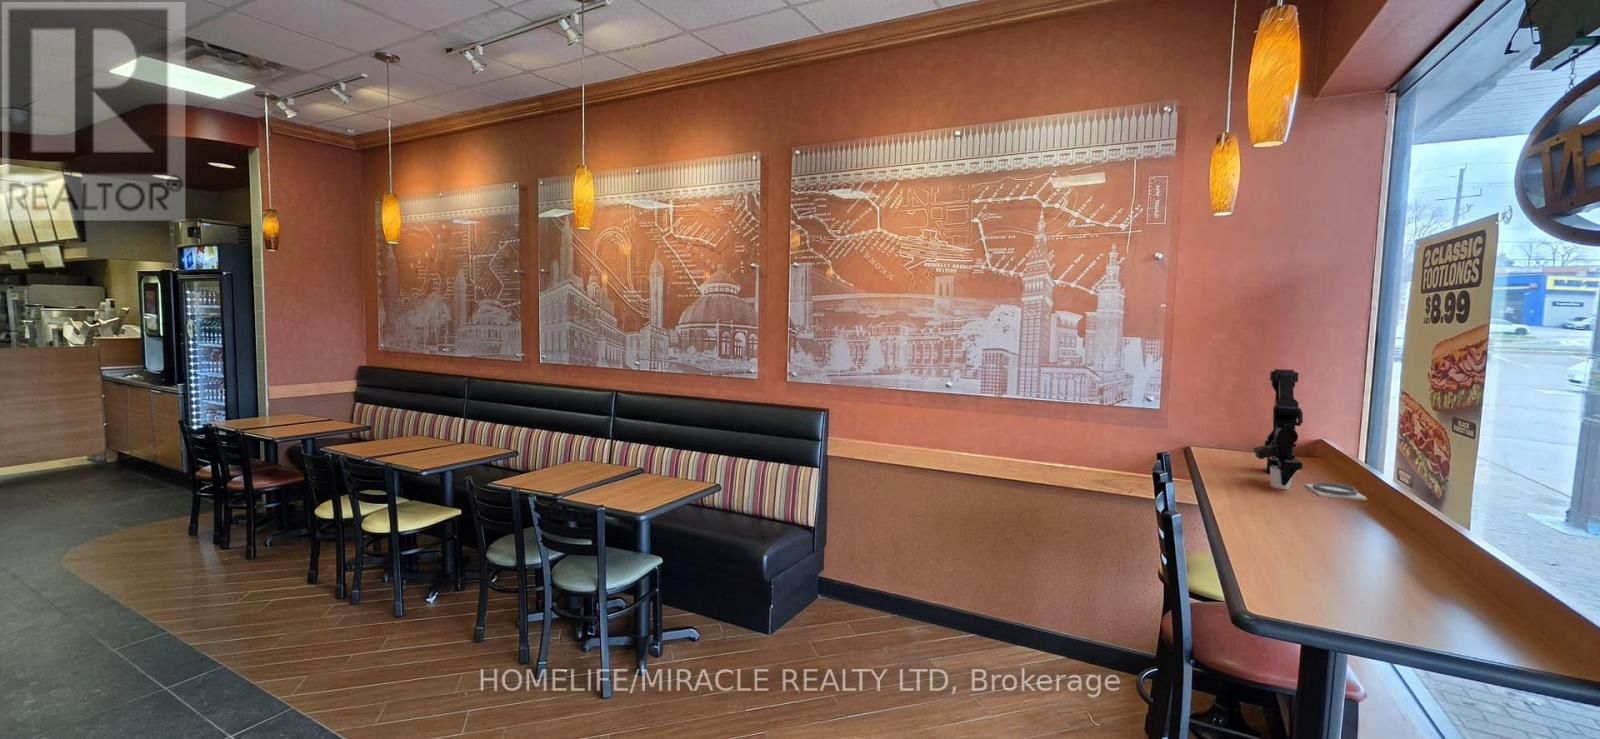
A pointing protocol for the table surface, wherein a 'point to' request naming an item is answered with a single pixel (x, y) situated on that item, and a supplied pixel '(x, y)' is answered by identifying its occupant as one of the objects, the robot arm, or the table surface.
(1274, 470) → the white cup
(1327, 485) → the coaster
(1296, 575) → the table surface
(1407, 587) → the table surface
